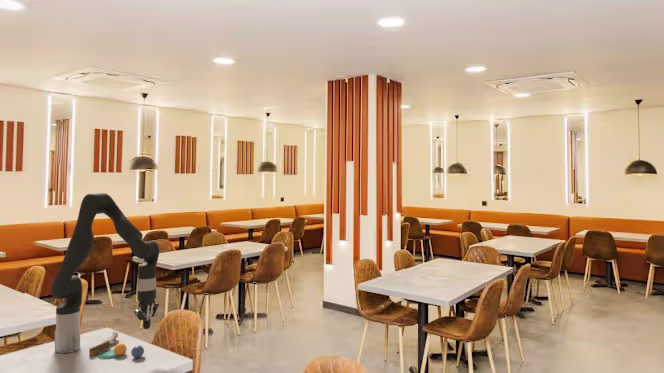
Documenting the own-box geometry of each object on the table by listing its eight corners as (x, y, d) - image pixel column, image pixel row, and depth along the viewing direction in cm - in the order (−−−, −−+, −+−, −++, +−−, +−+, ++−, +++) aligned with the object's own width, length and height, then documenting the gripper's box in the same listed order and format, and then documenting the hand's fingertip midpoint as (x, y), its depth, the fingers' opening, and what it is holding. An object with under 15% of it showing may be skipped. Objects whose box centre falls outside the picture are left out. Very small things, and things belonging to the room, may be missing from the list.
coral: (100, 348, 196) (100, 339, 196) (106, 340, 206) (106, 331, 206) (113, 347, 197) (113, 337, 197) (119, 339, 207) (119, 330, 207)
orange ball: (121, 357, 184) (111, 357, 186) (129, 352, 189) (120, 353, 190) (119, 345, 184) (110, 346, 186) (128, 341, 189) (119, 342, 191)
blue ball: (140, 353, 181) (134, 362, 182) (148, 348, 186) (143, 357, 187) (131, 345, 183) (126, 354, 183) (140, 341, 187) (135, 350, 188)
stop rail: (89, 356, 186) (89, 348, 186) (107, 348, 196) (107, 340, 196) (91, 356, 186) (91, 348, 186) (109, 348, 195) (109, 340, 195)
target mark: (91, 357, 185) (91, 357, 185) (111, 348, 196) (111, 347, 196) (111, 360, 182) (111, 359, 182) (131, 350, 192) (131, 350, 192)
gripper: (150, 284, 191) (150, 322, 191) (128, 291, 178) (128, 332, 178) (164, 285, 188) (164, 324, 189) (143, 292, 176) (142, 334, 176)
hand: (146, 328), depth 183 cm, fingers closed
